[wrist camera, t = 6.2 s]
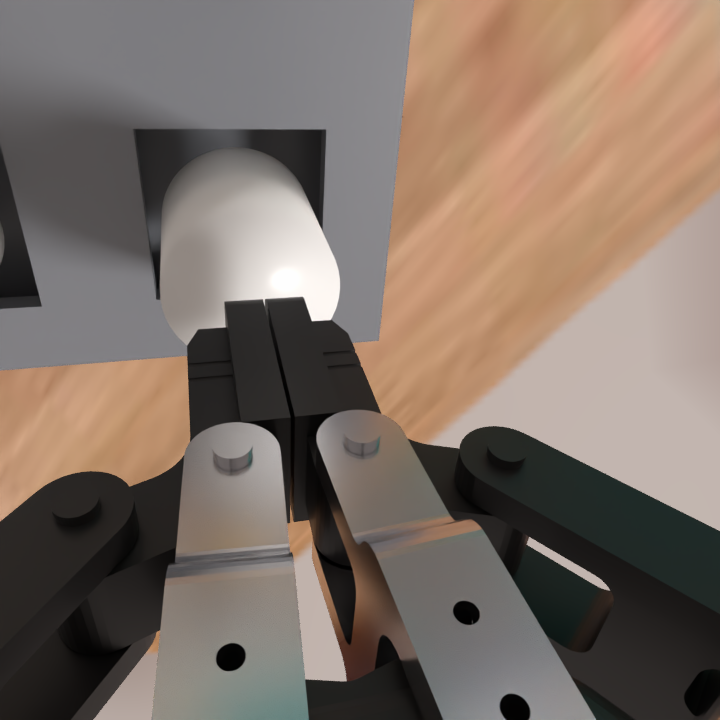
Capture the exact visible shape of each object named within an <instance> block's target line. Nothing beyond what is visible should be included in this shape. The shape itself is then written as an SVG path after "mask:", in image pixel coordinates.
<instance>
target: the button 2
mask: <svg viewBox="0 0 720 720" xmlns="http://www.w3.org/2000/svg"><path fill="white" fill-rule="evenodd" d="M4 247H5V246H4V234H3V229H2V226H1V223H0V264H1V261H2V258H3V254H4Z"/></svg>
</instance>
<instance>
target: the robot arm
mask: <svg viewBox="0 0 720 720" xmlns="http://www.w3.org/2000/svg"><path fill="white" fill-rule="evenodd" d="M224 309H225V326H226V327H224V328H209V329H198V330H197V332H196V333H195V335H194V336H193V338H192V339H191V341H190V342H189V344H188V345H187V357H188V380H189V382H188V383H189V410H190V436H191V437H190V443H189V444H188V446H187V448H186V450H185V455H184V456H183V457H182V459H181V460H180V461H179V462H178V463H177V464H176V465H175V466H173V467H172V468H171V469H169V470H168V471H166V472H164V473H163V474H161V475H159V476H157V477H154V478H152V479H149V480H147V481H144V482H141V483H139V484H136V485H133V486H130V487H129V486H128V484H127V483H126V482H124V481H123V480H122V479H120V478H119V477H117V476H115V475H112V474H109V473H104V472H92V471H90V472H80V473H75V474H71V475H67V476H64V477H61V478H59V479H57V480H54V481H52V482H51V483H49V484H47V485H45V486H44V487H43V488H41V489H40V490H38V491H37V492H36V493H35V494H33V495H32V496H31V497H30V498H29V499H27V500H26V501H25V502H24V503H22V504H21V505H20V506H19V507H18V508H16V509H15V510H14V511H13V512H12V513H10V514H9V515H8V516H7V517H5V518H4V519H3V520H2V521H1V522H0V720H93V719H94V718H95V717H96V715H97V714H98V713H99V711H100V710H101V709H102V708H103V706H104V705H105V704H106V703H107V701H108V700H109V699H110V697H111V696H112V695H113V694H114V692H115V691H116V690H117V689H118V687H119V686H120V685H121V683H122V682H123V681H124V680H125V678H126V677H127V676H128V675H129V673H130V672H131V671H132V669H133V668H134V667H135V666H136V664H137V663H138V662H139V661H140V659H141V658H142V657H143V655H144V654H145V653H146V652H147V650H148V649H149V647H150V646H151V644H152V643H153V640H154V638H155V636H156V632H157V631H159V630H160V639H159V649H158V659H157V670H156V680H155V690H154V700H153V710H152V720H720V531H718V530H716V529H714V528H712V527H710V526H708V525H706V524H704V523H702V522H700V521H698V520H696V519H694V518H692V517H690V516H688V515H686V514H684V513H682V512H680V511H678V510H676V509H674V508H672V507H670V506H668V505H666V504H664V503H662V502H660V501H658V500H656V499H654V498H652V497H650V496H648V495H646V494H644V493H642V492H640V491H638V490H636V489H634V488H632V487H630V486H628V485H626V484H624V483H622V482H620V481H618V480H616V479H614V478H612V477H610V476H608V475H606V474H604V473H602V472H600V471H598V470H596V469H594V468H592V467H590V466H588V465H586V464H584V463H582V462H580V461H578V460H576V459H574V458H572V457H570V456H568V455H566V454H564V453H562V452H560V451H558V450H556V449H554V448H552V447H550V446H548V445H546V444H544V443H542V442H540V441H538V440H536V439H534V438H532V437H530V436H528V435H526V434H524V433H522V432H520V431H517V430H514V429H510V428H505V427H497V426H493V427H483V428H479V429H476V430H474V431H472V432H470V433H469V434H467V435H466V436H465V437H464V439H463V440H462V442H461V444H460V449H458V448H450V447H442V446H434V445H427V444H422V443H418V442H415V441H412V440H410V439H407V437H406V435H405V433H404V432H403V430H402V429H401V427H400V426H399V425H398V424H397V423H396V422H395V421H393V420H392V419H390V418H389V417H387V416H385V415H382V414H381V412H380V409H379V407H378V404H377V402H376V400H375V397H374V395H373V392H372V390H371V388H370V385H369V383H368V380H367V378H366V375H365V373H364V371H363V368H362V367H361V365H360V364H361V363H360V361H359V358H358V356H357V354H356V353H355V349H354V346H353V344H352V342H351V339H350V337H349V334H348V333H347V332H346V331H345V330H343V329H342V328H341V327H340V326H339V325H337V324H336V323H335V322H334V321H333V320H323V321H312V320H311V317H310V314H309V311H308V308H307V305H306V302H305V300H304V298H303V297H288V298H271V299H265V306H264V302H263V299H256V300H240V301H224ZM290 505H291V510H292V515H293V520H294V522H298V521H305V520H309V521H310V526H311V530H312V535H313V542H312V559H313V564H314V567H315V570H316V573H317V576H318V580H319V583H320V586H321V589H322V592H323V596H324V599H325V602H326V605H327V609H328V612H329V615H330V618H331V621H332V625H333V628H334V631H335V634H336V637H337V641H338V644H339V647H340V650H341V653H342V657H343V661H344V666H345V671H346V679H347V681H346V682H340V681H322V680H305V673H304V663H303V652H302V642H301V631H300V622H299V610H298V600H297V590H296V579H295V569H294V560H293V554H292V552H291V553H290V548H289V538H288V527H287V523H290ZM529 537H531V538H532V539H534V540H536V541H537V542H539V543H541V544H543V545H545V546H546V547H548V548H549V549H551V550H553V551H555V552H556V553H558V554H560V555H561V556H563V557H565V558H567V559H568V560H570V561H572V562H573V563H575V564H577V565H579V566H580V567H582V568H584V569H586V570H587V571H589V572H591V573H592V574H594V575H596V576H597V577H599V578H600V579H601V580H602V581H603V582H604V583H605V584H606V585H607V586H608V587H609V589H610V591H608V590H604V589H601V588H599V587H597V586H595V585H594V584H592V583H590V582H588V581H587V580H585V579H583V578H582V577H580V576H578V575H577V574H575V573H573V572H572V571H570V570H568V569H567V568H565V567H563V566H561V565H560V564H558V563H556V562H554V561H553V560H551V559H550V558H548V557H546V556H545V555H543V554H541V553H539V552H538V551H536V550H534V549H533V548H531V547H529V546H528V545H526V544H527V541H528V538H529Z"/></svg>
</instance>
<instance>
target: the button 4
mask: <svg viewBox="0 0 720 720" xmlns="http://www.w3.org/2000/svg"><path fill="white" fill-rule="evenodd" d="M339 293H340V277H339V270H338V267H337V264H336V260H335V258H334V256H333V254H332V251H331V249H330V247H329V245H328V243H327V240H326V238H325V236H324V234H323V232H322V229H321V227H320V225H319V223H318V221H317V218H316V216H315V214H314V212H313V210H312V208H311V205H310V203H309V201H308V199H307V197H306V194H305V192H304V190H303V188H302V186H301V184H300V182H299V181H298V180H297V178H296V177H295V175H294V174H293V173H292V172H291V171H290V170H289V169H288V168H287V167H286V166H285V165H284V164H282V163H281V162H280V161H278V160H277V159H275V158H274V157H272V156H270V155H268V154H265V153H263V152H260V151H257V150H253V149H248V148H239V147H230V148H221V149H216V150H212V151H209V152H207V153H204V154H202V155H200V156H198V157H196V158H194V159H193V160H191V161H190V162H189V163H187V164H186V165H185V166H184V167H183V168H182V169H181V170H179V172H178V173H177V174H176V175H175V177H174V178H173V179H172V181H171V183H170V184H169V186H168V189H167V191H166V193H165V196H164V200H163V204H162V218H161V262H160V300H161V304H162V309H163V312H164V315H165V317H166V320H167V322H168V323H169V325H170V327H171V329H172V330H173V331H174V333H175V334H176V335H177V337H178V338H179V339H180V340H181V341H182V342H183V343H184V344H186V345H188V344H189V342H190V341H191V339H192V338H193V336H194V335H195V333H196V332H197V330H198V329H209V328H224V327H226V326H225V309H224V301H240V300H256V299H263V302H264V306H265V299H271V298H288V297H303V298H304V300H305V302H306V305H307V308H308V311H309V314H310V317H311V320H312V321H323V320H331V319H332V317H333V314H334V312H335V310H336V307H337V303H338V300H339Z"/></svg>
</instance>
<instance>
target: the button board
mask: <svg viewBox="0 0 720 720" xmlns="http://www.w3.org/2000/svg"><path fill="white" fill-rule="evenodd" d="M413 7H414V0H0V223H1V226H2V229H3V234H4V246H5V247H4V254H3V258H2V261H1V264H0V370H13V369H25V368H38V367H51V366H63V365H76V364H89V363H102V362H114V361H127V360H140V359H152V358H165V357H178V356H187V345H186V344H184V343H183V342H182V341H181V340H180V339H179V338H178V337H177V335H176V334H175V333H174V331H173V330H172V329H171V327H170V325H169V323H168V322H167V320H166V317H165V315H164V312H163V309H162V304H161V300H160V262H161V218H162V204H163V200H164V196H165V193H166V191H167V189H168V186H169V184H170V183H171V181H172V179H173V178H174V177H175V175H176V174H177V173H178V172H179V170H181V169H182V168H183V167H184V166H185V165H186V164H187V163H189V162H190V161H191V160H193V159H194V158H196V157H198V156H200V155H202V154H204V153H207V152H209V151H212V150H216V149H221V148H230V147H239V148H248V149H253V150H257V151H260V152H263V153H265V154H268V155H270V156H272V157H274V158H275V159H277V160H278V161H280V162H281V163H282V164H284V165H285V166H286V167H287V168H288V169H289V170H290V171H291V172H292V173H293V174H294V175H295V177H296V178H297V180H298V181H299V182H300V184H301V186H302V188H303V190H304V192H305V194H306V197H307V199H308V201H309V203H310V205H311V208H312V210H313V212H314V214H315V216H316V218H317V221H318V223H319V225H320V227H321V229H322V232H323V234H324V236H325V238H326V240H327V243H328V245H329V247H330V249H331V251H332V254H333V256H334V258H335V260H336V264H337V267H338V270H339V277H340V293H339V300H338V303H337V307H336V310H335V312H334V314H333V317H332V319H331V320H333V321H334V322H335V323H336V324H337V325H339V326H340V327H341V328H342V329H343V330H345V331H346V332H347V333H348V334H349V337H350V339H351V342H352V343H356V342H368V341H379V333H380V324H381V314H382V304H383V295H384V285H385V276H386V266H387V256H388V247H389V237H390V228H391V218H392V208H393V199H394V189H395V180H396V170H397V160H398V151H399V141H400V131H401V122H402V112H403V103H404V93H405V83H406V74H407V64H408V55H409V45H410V35H411V26H412V16H413Z"/></svg>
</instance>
